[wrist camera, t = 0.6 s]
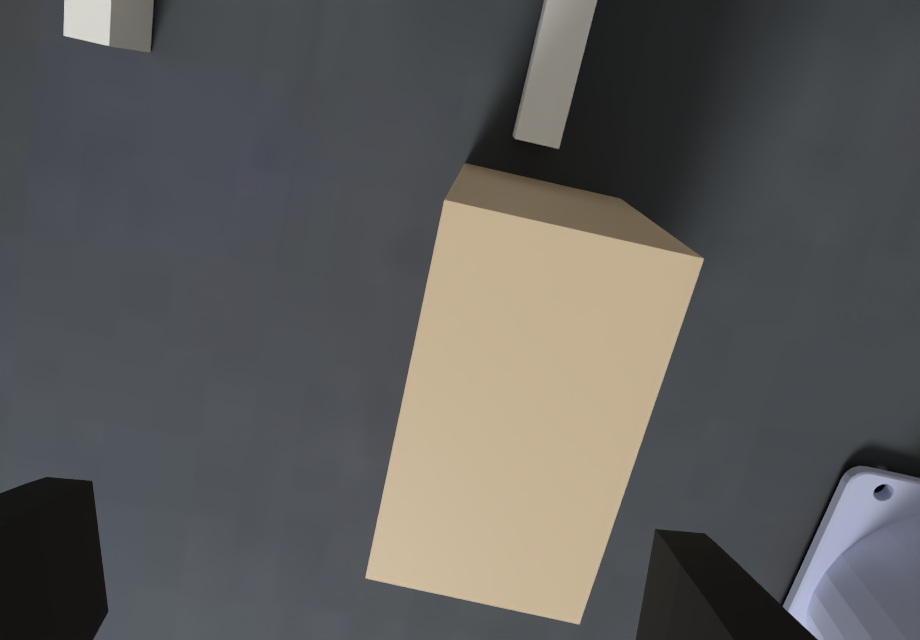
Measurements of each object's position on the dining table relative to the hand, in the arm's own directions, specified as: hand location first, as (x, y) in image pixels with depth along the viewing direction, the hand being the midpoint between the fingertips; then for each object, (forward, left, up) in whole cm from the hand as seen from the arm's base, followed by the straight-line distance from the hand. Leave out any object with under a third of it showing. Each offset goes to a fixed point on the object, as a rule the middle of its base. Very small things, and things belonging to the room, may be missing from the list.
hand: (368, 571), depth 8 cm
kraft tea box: (-2, -1, -10) cm, 10 cm away
